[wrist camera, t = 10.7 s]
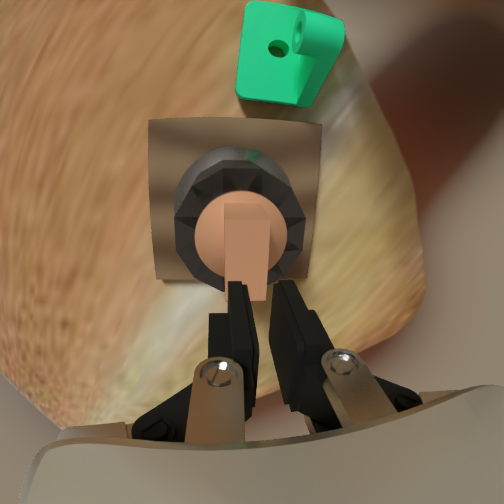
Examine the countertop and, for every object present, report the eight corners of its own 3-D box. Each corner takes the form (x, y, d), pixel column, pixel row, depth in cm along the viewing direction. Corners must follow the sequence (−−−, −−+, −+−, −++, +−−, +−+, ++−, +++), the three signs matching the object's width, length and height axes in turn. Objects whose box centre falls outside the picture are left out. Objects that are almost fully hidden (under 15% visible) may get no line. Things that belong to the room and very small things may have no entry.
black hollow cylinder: (176, 146, 26) (154, 150, 17) (293, 149, 28) (328, 155, 18) (179, 255, 31) (164, 305, 22) (285, 255, 32) (310, 302, 23)
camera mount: (244, 9, 22) (255, -37, 12) (310, 19, 23) (344, -18, 14) (233, 100, 26) (240, 81, 17) (303, 108, 27) (341, 97, 18)
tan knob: (198, 181, 22) (186, 207, 14) (276, 182, 23) (307, 207, 15) (200, 254, 25) (193, 311, 16) (272, 253, 25) (296, 308, 17)
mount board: (152, 120, 26) (148, 119, 25) (317, 125, 28) (322, 124, 27) (158, 273, 33) (156, 279, 32) (303, 272, 35) (306, 277, 34)
